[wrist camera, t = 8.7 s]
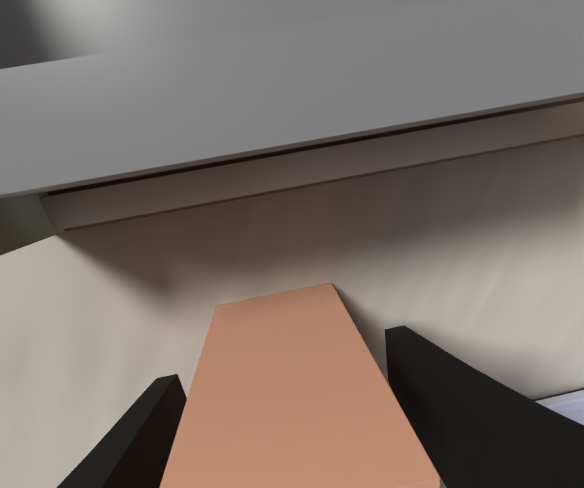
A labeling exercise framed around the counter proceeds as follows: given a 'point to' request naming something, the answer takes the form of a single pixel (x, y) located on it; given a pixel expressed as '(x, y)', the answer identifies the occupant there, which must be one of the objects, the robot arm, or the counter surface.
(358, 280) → the counter surface
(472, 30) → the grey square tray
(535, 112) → the track
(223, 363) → the block
